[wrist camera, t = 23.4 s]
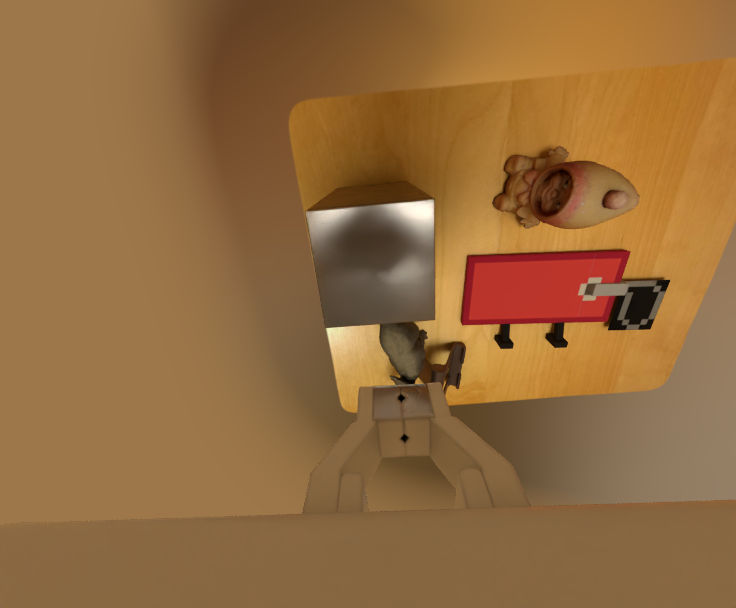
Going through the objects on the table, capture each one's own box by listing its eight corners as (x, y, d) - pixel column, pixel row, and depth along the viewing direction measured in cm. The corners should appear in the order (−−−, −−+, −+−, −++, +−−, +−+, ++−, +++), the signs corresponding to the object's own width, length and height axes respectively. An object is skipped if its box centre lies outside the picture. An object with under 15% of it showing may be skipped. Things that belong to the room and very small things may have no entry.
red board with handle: (641, 336, 49) (677, 247, 42) (655, 345, 46) (696, 252, 40) (458, 340, 50) (466, 254, 44) (462, 349, 48) (472, 260, 41)
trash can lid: (433, 316, 26) (435, 320, 25) (326, 324, 26) (325, 328, 25) (432, 197, 22) (434, 198, 21) (307, 210, 22) (304, 211, 22)
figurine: (505, 142, 37) (619, 136, 24) (554, 148, 39) (684, 146, 26) (484, 222, 41) (571, 253, 28) (529, 224, 43) (630, 255, 30)
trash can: (409, 250, 43) (432, 310, 26) (345, 255, 44) (326, 318, 26) (406, 181, 39) (432, 197, 22) (336, 188, 40) (307, 209, 22)
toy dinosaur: (358, 269, 45) (353, 301, 35) (413, 257, 44) (424, 285, 34) (388, 379, 54) (391, 429, 44) (434, 371, 53) (447, 420, 43)
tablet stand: (456, 381, 54) (469, 417, 47) (413, 381, 54) (420, 416, 47) (463, 341, 50) (478, 373, 43) (417, 341, 50) (424, 372, 43)
